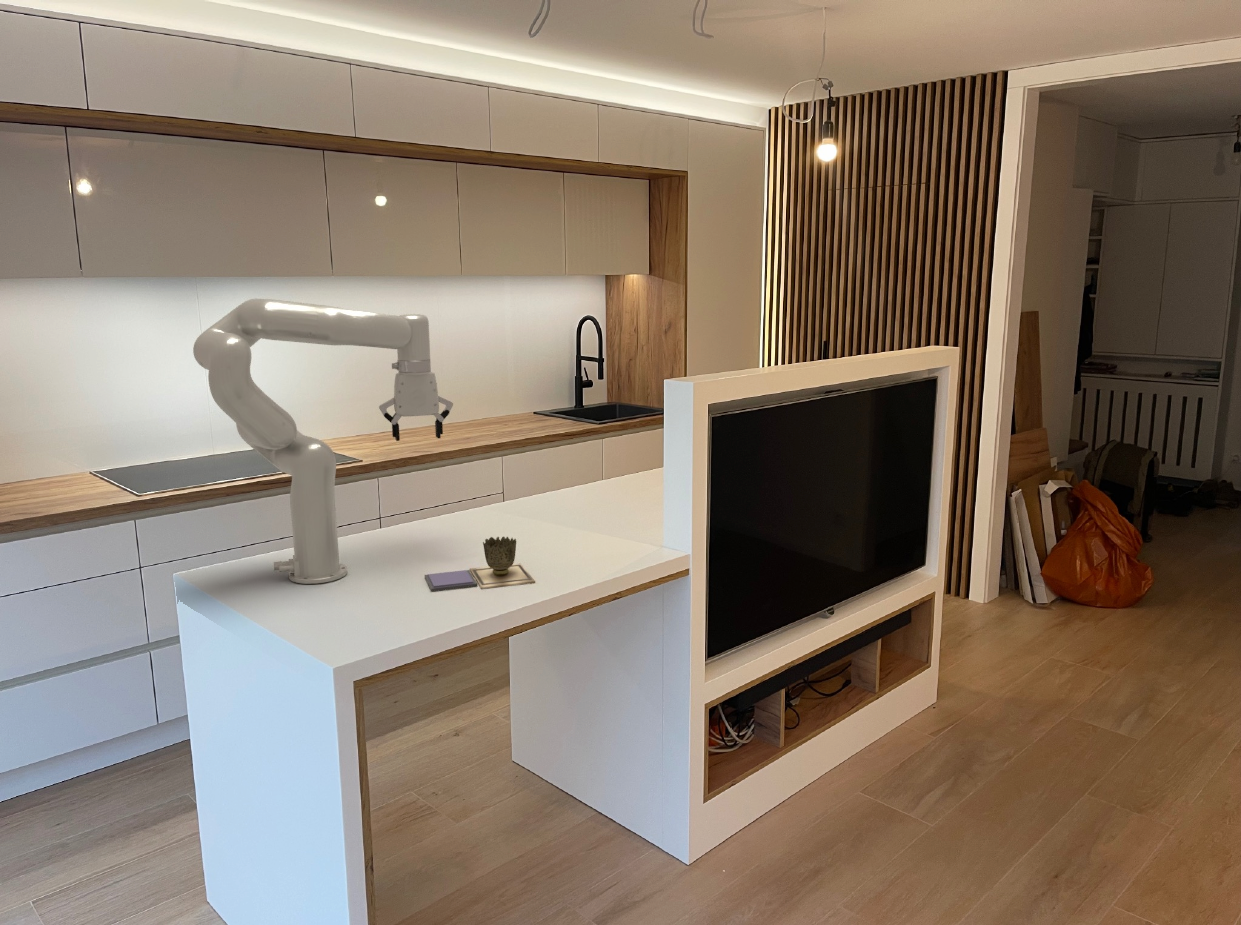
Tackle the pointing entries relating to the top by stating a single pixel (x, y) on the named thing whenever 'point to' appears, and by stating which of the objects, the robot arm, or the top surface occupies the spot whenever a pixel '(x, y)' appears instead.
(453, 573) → the ink pad
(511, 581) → the board
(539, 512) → the top surface
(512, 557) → the cup
